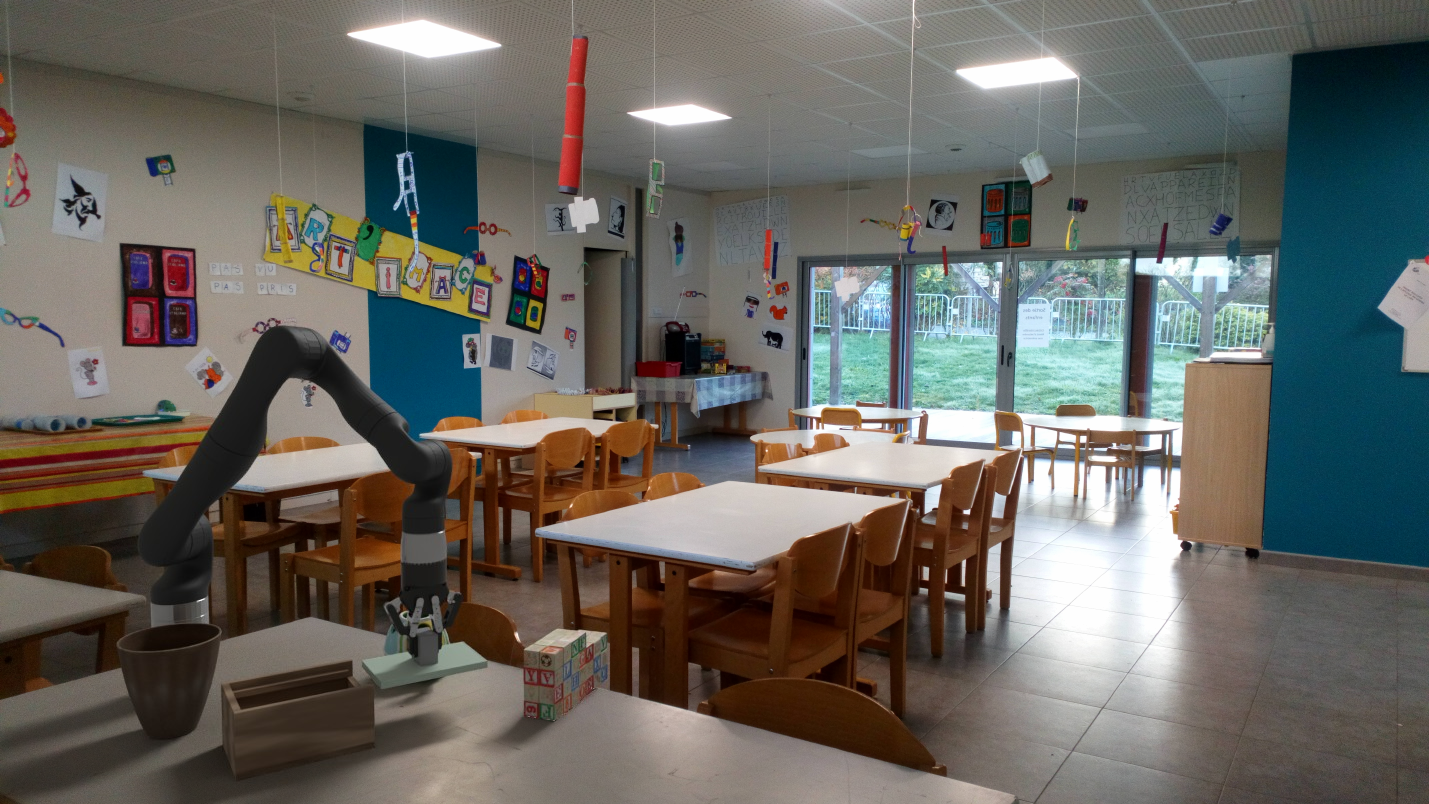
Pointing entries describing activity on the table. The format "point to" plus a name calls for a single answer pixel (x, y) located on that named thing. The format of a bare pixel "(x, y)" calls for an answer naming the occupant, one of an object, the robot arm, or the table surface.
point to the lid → (423, 662)
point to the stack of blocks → (563, 671)
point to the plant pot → (169, 675)
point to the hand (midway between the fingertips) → (424, 653)
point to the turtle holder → (399, 642)
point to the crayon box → (295, 718)
